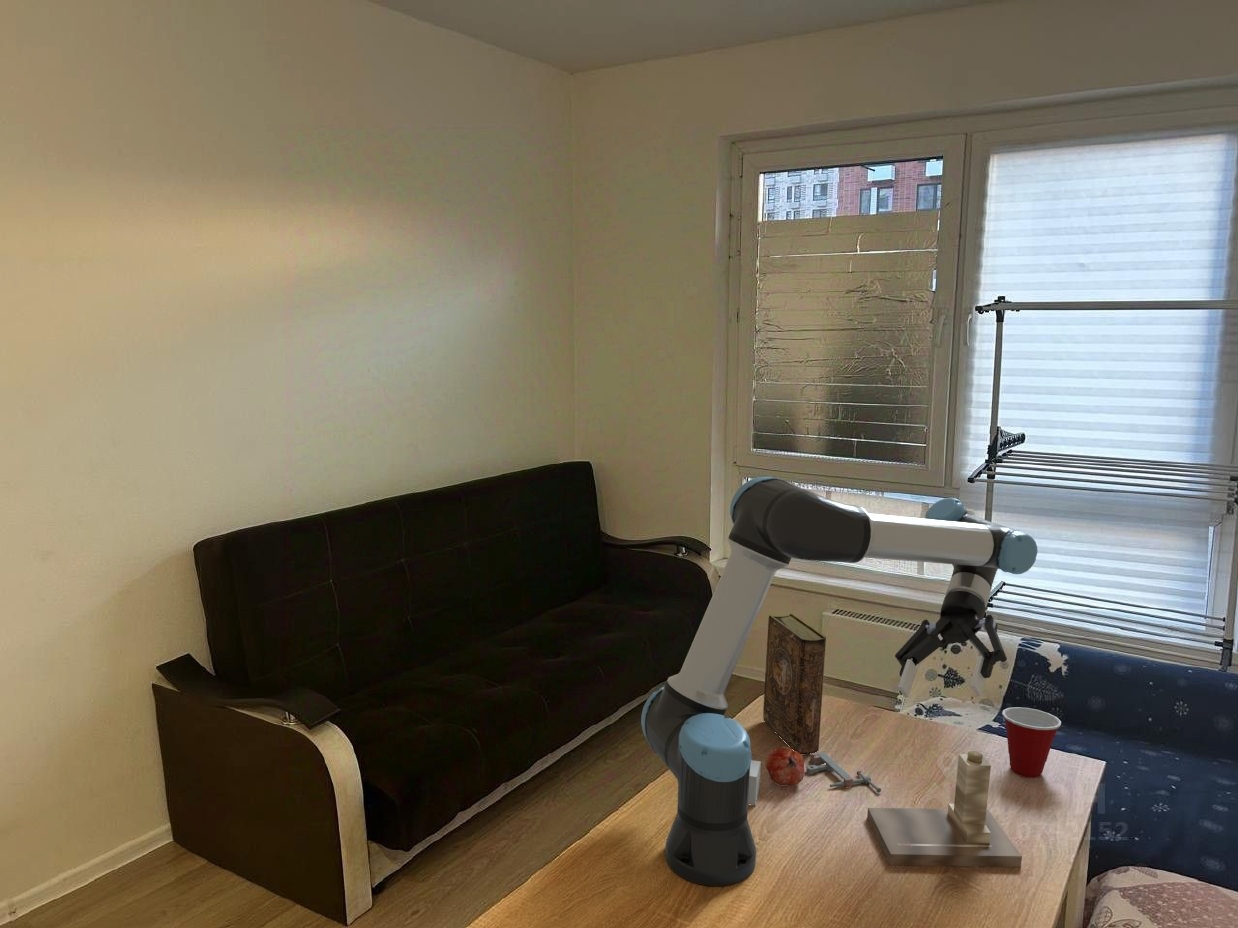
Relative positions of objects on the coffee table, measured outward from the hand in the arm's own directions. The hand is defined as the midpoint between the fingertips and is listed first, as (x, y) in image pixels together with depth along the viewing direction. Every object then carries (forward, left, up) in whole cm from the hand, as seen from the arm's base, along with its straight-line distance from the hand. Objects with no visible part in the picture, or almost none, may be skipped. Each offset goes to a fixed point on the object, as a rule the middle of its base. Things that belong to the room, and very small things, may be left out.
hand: (938, 691), depth 159 cm
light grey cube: (-32, +10, -26) cm, 42 cm away
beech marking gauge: (+6, -3, -24) cm, 25 cm away
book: (-18, +34, -26) cm, 46 cm away
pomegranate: (-23, +15, -26) cm, 38 cm away
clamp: (-12, +17, -27) cm, 34 cm away
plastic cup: (+27, +21, -26) cm, 43 cm away
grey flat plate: (+1, -4, -26) cm, 26 cm away
